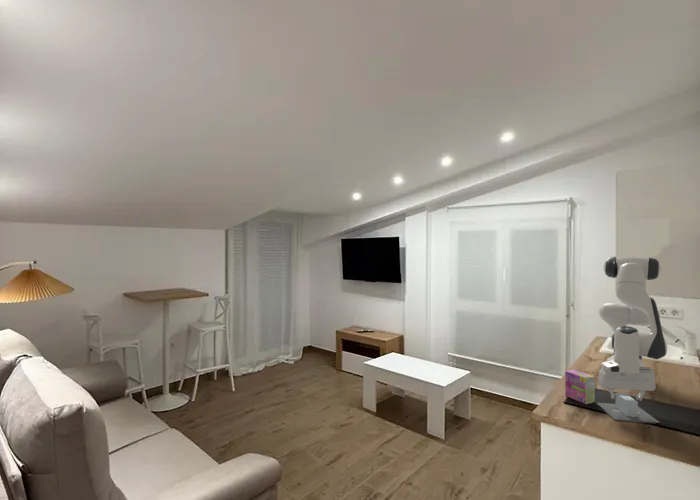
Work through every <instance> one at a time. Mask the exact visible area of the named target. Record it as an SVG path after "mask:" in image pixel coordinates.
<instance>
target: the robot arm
mask: <svg viewBox="0 0 700 500" xmlns="http://www.w3.org/2000/svg"><path fill="white" fill-rule="evenodd" d="M659 262H660V261H658V259H657V258H653V257H643V256H617V257H616V256H610V257H608V258H606V259H605V261H604V264H603V272H604V274H605V275H606V277H608V278H611V279H616V282H615V293H616V294H615V296H616V298H618V300H619V301H620V302H606V303H603V304H601V306H600V307H599V309H598V314H599V317H600V319H601V320H602V321H604V323H606V324H607V325H608V326H609V327H610V328H611V330H612V332H613V334H612V335H611V349H613V353H612V355H611V356H610V357H608V358H606V361H602V362H601V363H600V368H601V369H599V372H598V377H597V382H598V385H599V386H600V387H601V388H603V389H607V390H608V392H609V393H610V399H611V400H615V399H617V398H616V397H617V395H616V393H614V391H615V390H628V391H629V390H631V391H632V390H633V391H639V392H638V394H635V400H636V401H641V402H642V400H643V396H644V395H645V394H646V391H649V392H653V391H655V390H656V379H655V376H656V375H655V374H656V373H655V370H654V369H653V368H651V367H649V366H648V367H647V366H646V365H645V362H644V361H643V357H645V358H650V359H654V360H660V359H662V358H664V357H665V356H666V355H667V353H668V345H667V344H668V343H667V341H666V339H665V336H664V333H663V327H662V324H661V319H660V317H661V315H660V312H659V310H658V307H657V303H656V301H655V299H654V298H653V297H651V296H650V295H649V293H648V292H647V286H646V285H647V282H646V281H651V280H652V281H653V280H656V279H657V278H659V275H660V273H661V269H662V267H661V264H660V263H659ZM629 325H632V326H629ZM633 326H639V327H640V326H643V327H644V326H649V331H650V332H649V333H643V332H639V330H638V329H637V328H635V327H633ZM645 366H646V367H645Z"/></svg>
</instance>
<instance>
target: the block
mask: <svg viewBox="0 0 700 500" xmlns="http://www.w3.org/2000/svg"><path fill="white" fill-rule="evenodd" d="M615 395H617V397H616V398H617V399H614V400H615V403H614V404H615V407H616V408H618V409H619V410H620V411H621V412H622V413H624V414H625V415H626V416H633V417H638V407H639V402H638V400H636V399H634V398H633V397H631V396H630V395H629V393H626V392H615Z"/></svg>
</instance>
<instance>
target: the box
mask: <svg viewBox="0 0 700 500" xmlns="http://www.w3.org/2000/svg"><path fill="white" fill-rule="evenodd" d="M564 374H565V375H564V378H565V379H564V380H565V383H564V384H565V386H564V388H565V390H564V391H565V394H564V395H565V397H567V398H571V399H572V400H574V401H577V402H579V403H582V404H584V405H588V404H589V405H590V404H593V402H594V403H595V399H596V398H595V397H596V396H595V394H596V392H595V388H596V387H595V386H596V385H595V384H596V383H595V381H596V380H595V379H596V378H595V376H594V375H592V374H588V373H585V372H582V371H578V370H576V369H569V370H565V372H564Z"/></svg>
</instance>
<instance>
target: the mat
mask: <svg viewBox="0 0 700 500" xmlns="http://www.w3.org/2000/svg"><path fill="white" fill-rule="evenodd" d="M595 405H597V406H598V405H599V406H600V407H601V408H602V409H603V410H604V413H605V414H607V416H609V417H610V418H611V419H612V420H613V421H617V422H628V423H629V422H630V423H632V422H633V423H643V424H656V423H660V424H661V422H660V421H659V420H657V419H656V418H655V417H653V416H652V415H651V414H649V413H648V412H646V411H645V410H644V409H642V408H641V407H640V406H638V417H633V416H626V415H625V414H624V413H622V412H621V411H620V410H619V409H618V408H616V407H615V403H608V402H607V403H606V402H596V403H595ZM599 406H598V407H599ZM600 407H599V408H600ZM601 408H600V409H601ZM602 409H601V410H602ZM603 410H602V411H603Z"/></svg>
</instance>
